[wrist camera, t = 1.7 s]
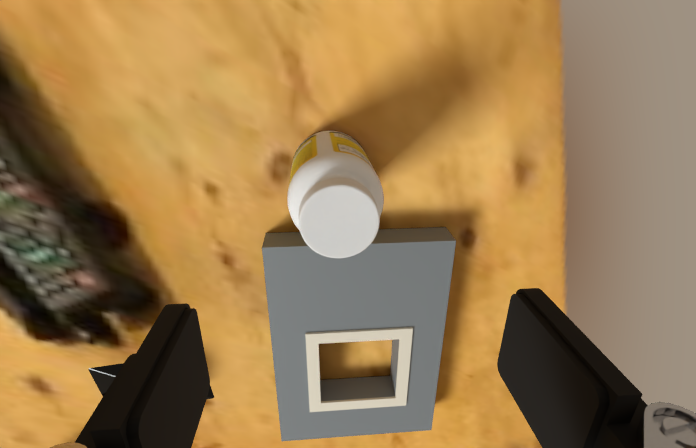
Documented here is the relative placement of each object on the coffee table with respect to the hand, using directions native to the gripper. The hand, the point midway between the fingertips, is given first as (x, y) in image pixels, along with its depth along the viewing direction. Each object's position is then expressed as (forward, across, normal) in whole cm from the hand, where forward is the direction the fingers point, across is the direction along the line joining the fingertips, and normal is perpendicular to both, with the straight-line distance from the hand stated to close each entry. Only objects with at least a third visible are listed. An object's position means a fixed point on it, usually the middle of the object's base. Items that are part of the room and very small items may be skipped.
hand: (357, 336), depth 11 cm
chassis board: (+18, -2, +15) cm, 23 cm away
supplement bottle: (+18, 0, 0) cm, 18 cm away
